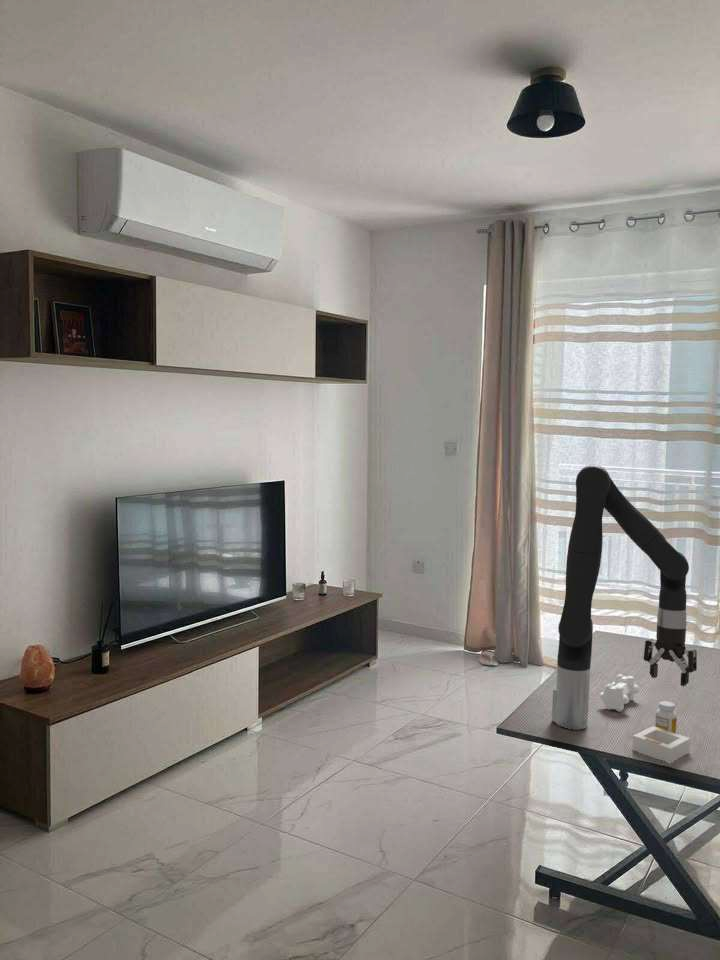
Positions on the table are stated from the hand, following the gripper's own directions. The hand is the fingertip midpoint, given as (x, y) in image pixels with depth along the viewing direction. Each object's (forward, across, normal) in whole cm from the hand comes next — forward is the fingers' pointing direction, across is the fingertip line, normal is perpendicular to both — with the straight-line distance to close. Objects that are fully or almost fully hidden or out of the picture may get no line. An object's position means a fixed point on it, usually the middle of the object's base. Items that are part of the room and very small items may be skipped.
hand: (668, 681), depth 221 cm
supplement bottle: (+16, 0, 0) cm, 16 cm away
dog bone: (+16, -22, +13) cm, 30 cm away
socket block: (+16, +4, -10) cm, 19 cm away
